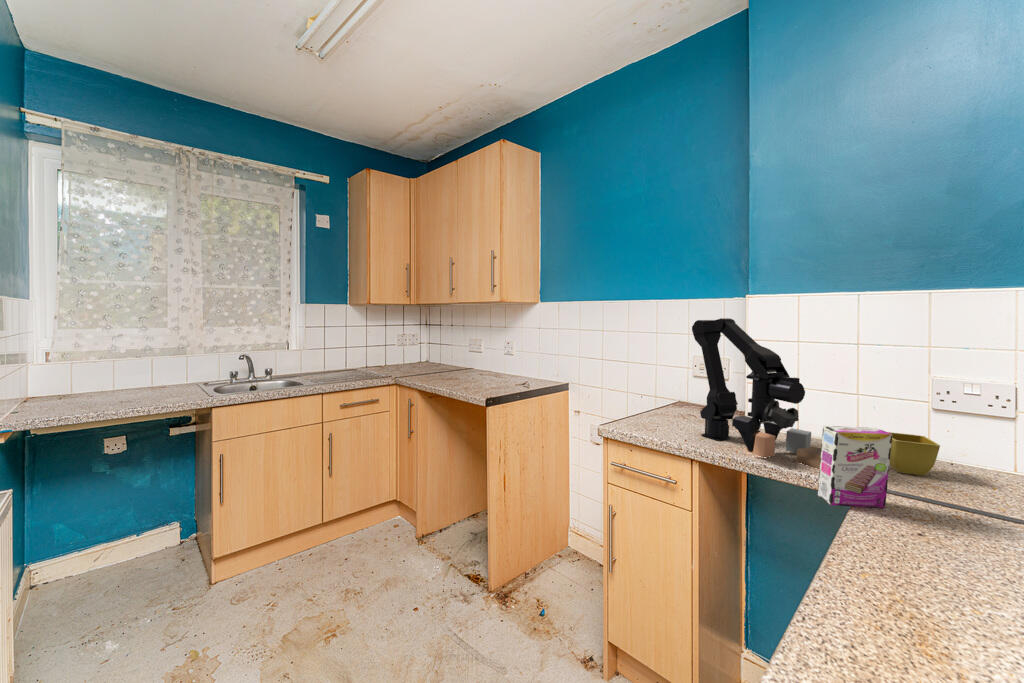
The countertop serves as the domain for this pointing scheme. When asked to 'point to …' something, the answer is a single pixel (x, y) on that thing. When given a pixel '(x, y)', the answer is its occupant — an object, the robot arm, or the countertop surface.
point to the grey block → (797, 439)
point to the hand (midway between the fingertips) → (760, 449)
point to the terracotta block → (764, 445)
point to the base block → (809, 456)
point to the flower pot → (912, 453)
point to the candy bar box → (854, 466)
